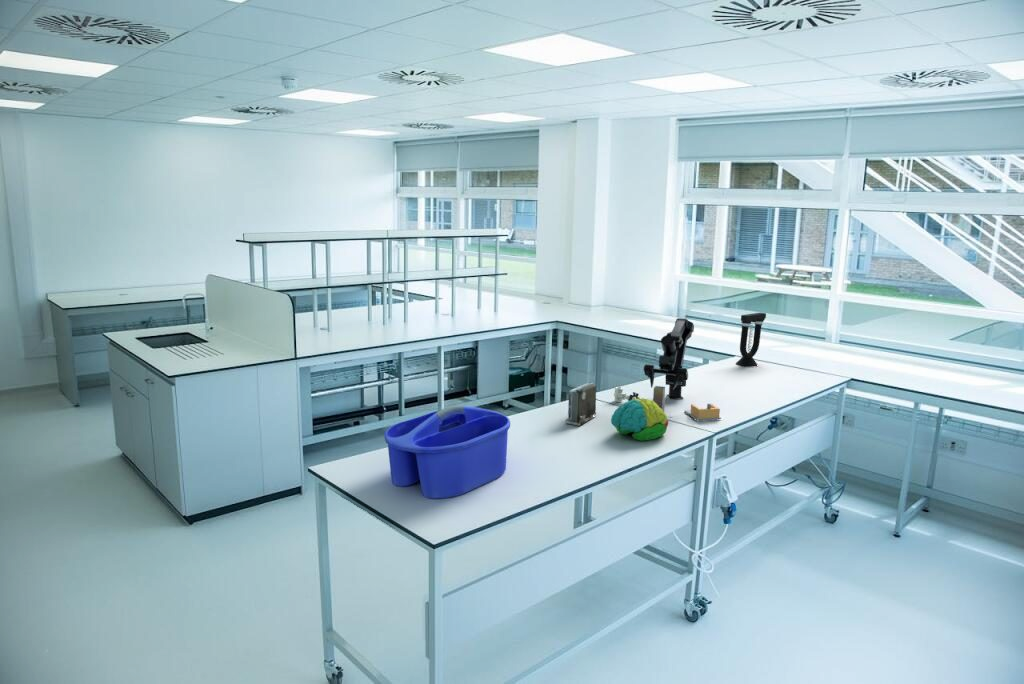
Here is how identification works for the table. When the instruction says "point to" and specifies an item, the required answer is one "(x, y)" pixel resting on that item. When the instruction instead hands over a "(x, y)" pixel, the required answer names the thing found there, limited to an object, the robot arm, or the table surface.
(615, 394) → the valve
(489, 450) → the caddy
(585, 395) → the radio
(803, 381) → the table surface
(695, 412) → the keeper bracket
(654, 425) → the brain model
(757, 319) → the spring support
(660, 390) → the rectangular block
